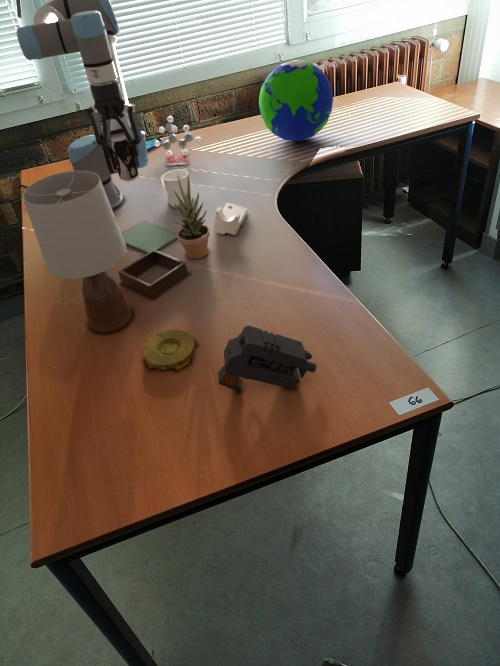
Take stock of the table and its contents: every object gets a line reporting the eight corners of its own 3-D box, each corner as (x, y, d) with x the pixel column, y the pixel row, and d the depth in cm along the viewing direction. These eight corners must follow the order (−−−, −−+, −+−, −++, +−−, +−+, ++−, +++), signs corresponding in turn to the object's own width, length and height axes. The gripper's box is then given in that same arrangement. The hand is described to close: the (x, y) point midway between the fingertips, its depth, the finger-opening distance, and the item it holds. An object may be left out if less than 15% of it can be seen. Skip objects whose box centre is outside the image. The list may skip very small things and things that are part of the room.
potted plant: (199, 241, 157) (184, 164, 140) (219, 251, 151) (206, 172, 135) (174, 255, 152) (155, 178, 136) (193, 266, 146) (177, 186, 130)
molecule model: (154, 173, 207) (143, 140, 194) (159, 149, 216) (149, 116, 203) (201, 170, 205) (193, 136, 192) (205, 146, 213) (198, 112, 200)
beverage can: (129, 183, 145) (118, 142, 137) (116, 180, 148) (104, 139, 140) (143, 176, 148) (133, 135, 141) (130, 172, 151) (119, 132, 143)
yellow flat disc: (187, 373, 113) (186, 366, 112) (138, 370, 116) (135, 363, 114) (200, 337, 122) (199, 330, 121) (154, 335, 124) (152, 328, 123)
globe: (304, 121, 227) (302, 47, 207) (348, 138, 206) (349, 57, 187) (248, 140, 217) (240, 64, 197) (288, 160, 196) (283, 77, 177)
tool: (211, 370, 109) (238, 319, 100) (290, 389, 115) (321, 343, 107) (212, 390, 104) (240, 339, 96) (294, 410, 111) (327, 363, 102)
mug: (197, 198, 179) (192, 170, 173) (185, 209, 174) (179, 181, 167) (172, 195, 184) (165, 167, 177) (158, 206, 178) (152, 178, 171)
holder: (121, 283, 143) (117, 271, 141) (156, 260, 151) (153, 249, 148) (152, 298, 136) (149, 286, 134) (188, 274, 143) (185, 262, 141)
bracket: (234, 237, 158) (238, 217, 152) (213, 231, 158) (216, 210, 153) (246, 217, 167) (249, 197, 162) (225, 211, 168) (228, 191, 162)
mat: (114, 239, 163) (114, 237, 163) (142, 223, 170) (142, 221, 169) (150, 254, 154) (150, 253, 153) (178, 237, 160) (178, 235, 160)
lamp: (86, 299, 139) (35, 172, 115) (152, 295, 137) (114, 164, 113) (66, 345, 125) (2, 211, 101) (138, 341, 123) (92, 203, 99)
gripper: (64, 88, 130) (92, 173, 145) (131, 83, 126) (152, 172, 142) (77, 79, 136) (102, 163, 151) (141, 75, 132) (161, 161, 147)
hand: (126, 167), depth 146 cm, fingers closed on beverage can, 6 cm apart
